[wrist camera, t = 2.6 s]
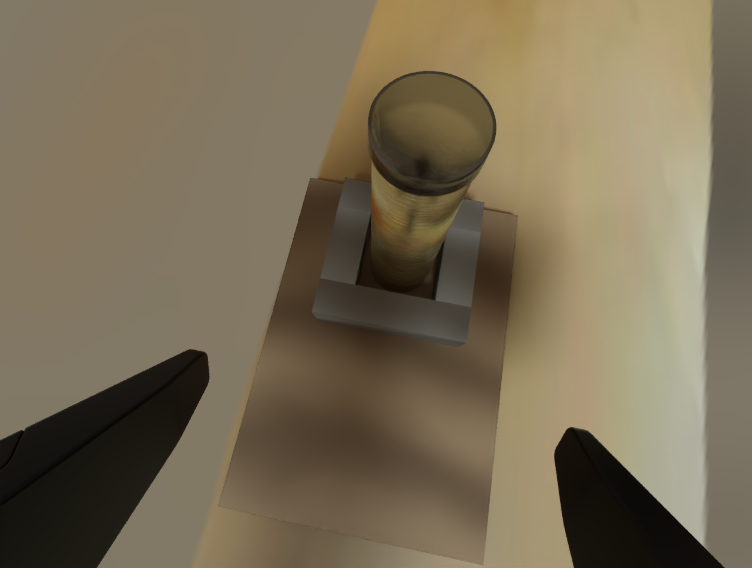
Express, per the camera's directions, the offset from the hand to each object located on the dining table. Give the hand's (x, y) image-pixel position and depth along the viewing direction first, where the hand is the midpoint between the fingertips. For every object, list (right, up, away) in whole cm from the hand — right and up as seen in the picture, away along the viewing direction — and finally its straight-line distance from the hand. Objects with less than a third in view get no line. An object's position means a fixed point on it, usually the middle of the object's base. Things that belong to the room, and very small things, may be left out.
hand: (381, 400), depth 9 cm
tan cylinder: (+1, +4, +14) cm, 15 cm away
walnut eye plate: (0, -1, +14) cm, 14 cm away
